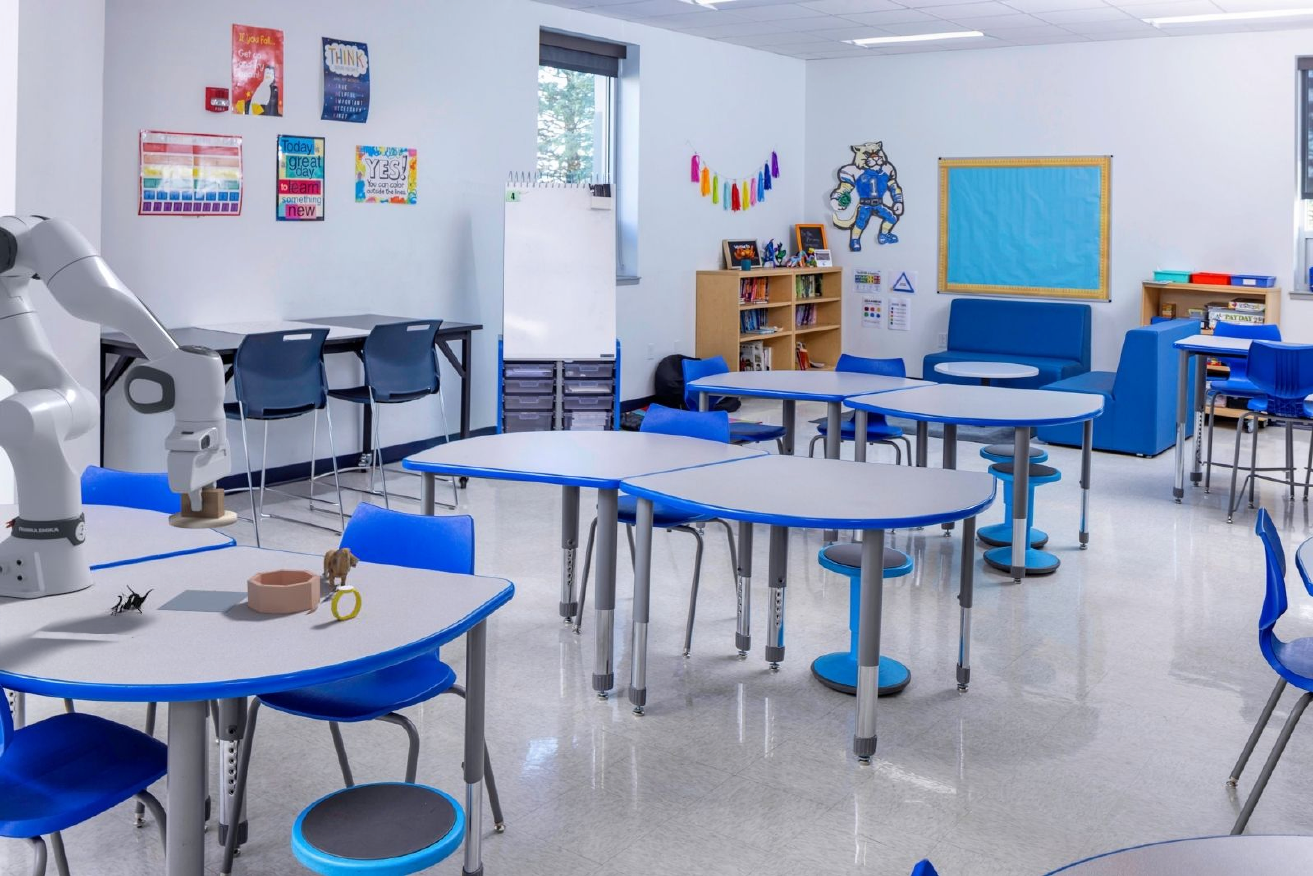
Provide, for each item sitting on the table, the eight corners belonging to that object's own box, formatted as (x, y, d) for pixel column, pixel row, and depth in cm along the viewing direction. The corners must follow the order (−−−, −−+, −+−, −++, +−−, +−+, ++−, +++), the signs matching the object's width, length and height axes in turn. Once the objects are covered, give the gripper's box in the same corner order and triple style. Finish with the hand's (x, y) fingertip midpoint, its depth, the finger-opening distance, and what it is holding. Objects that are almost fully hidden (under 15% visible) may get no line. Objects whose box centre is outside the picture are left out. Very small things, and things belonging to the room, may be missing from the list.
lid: (157, 527, 225) (156, 495, 224) (184, 513, 237) (184, 482, 236) (222, 530, 225) (221, 497, 224) (246, 515, 237) (246, 484, 236)
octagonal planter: (240, 617, 227) (240, 585, 226) (264, 598, 239) (263, 568, 238) (305, 619, 227) (305, 587, 226) (325, 601, 239) (325, 570, 238)
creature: (131, 630, 222) (162, 609, 229) (125, 603, 220) (156, 583, 227) (96, 624, 225) (128, 603, 232) (90, 597, 223) (122, 578, 230)
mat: (156, 614, 227) (156, 609, 227) (186, 594, 240) (186, 589, 240) (226, 617, 227) (226, 612, 227) (252, 597, 240) (252, 592, 240)
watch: (339, 624, 225) (336, 593, 224) (329, 621, 227) (327, 590, 226) (365, 615, 230) (363, 584, 229) (355, 612, 232) (353, 582, 230)
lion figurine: (361, 593, 245) (361, 548, 243) (335, 597, 242) (335, 552, 240) (334, 576, 257) (334, 533, 255) (309, 579, 254) (309, 536, 252)
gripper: (206, 425, 239) (208, 495, 241) (160, 442, 219) (162, 518, 221) (239, 426, 239) (240, 497, 241) (195, 443, 218) (197, 520, 221)
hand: (202, 507), depth 231 cm, fingers closed on lid, 3 cm apart
